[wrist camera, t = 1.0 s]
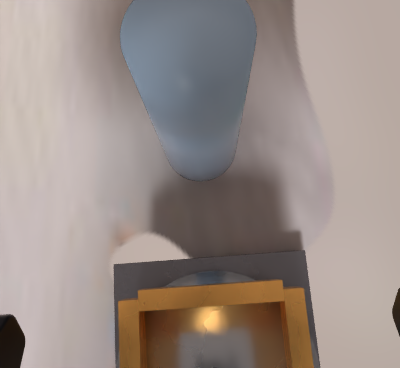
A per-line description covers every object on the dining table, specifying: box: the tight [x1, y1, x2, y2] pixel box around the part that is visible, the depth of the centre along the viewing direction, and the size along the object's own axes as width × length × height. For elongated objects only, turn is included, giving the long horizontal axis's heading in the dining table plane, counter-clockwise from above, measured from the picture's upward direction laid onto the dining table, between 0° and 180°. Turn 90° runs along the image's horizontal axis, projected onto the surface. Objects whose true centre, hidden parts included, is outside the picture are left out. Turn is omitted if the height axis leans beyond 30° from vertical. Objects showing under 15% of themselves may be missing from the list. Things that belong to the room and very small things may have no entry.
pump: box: [120, 0, 257, 181], centre depth 18 cm, size 6×4×12 cm
